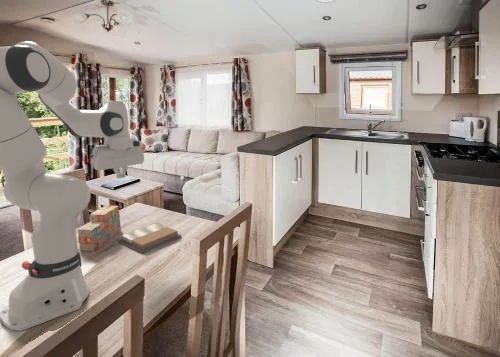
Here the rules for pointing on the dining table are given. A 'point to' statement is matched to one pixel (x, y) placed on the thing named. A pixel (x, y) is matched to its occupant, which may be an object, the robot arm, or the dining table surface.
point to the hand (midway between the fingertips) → (121, 177)
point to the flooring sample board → (152, 240)
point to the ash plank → (142, 232)
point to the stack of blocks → (99, 228)
